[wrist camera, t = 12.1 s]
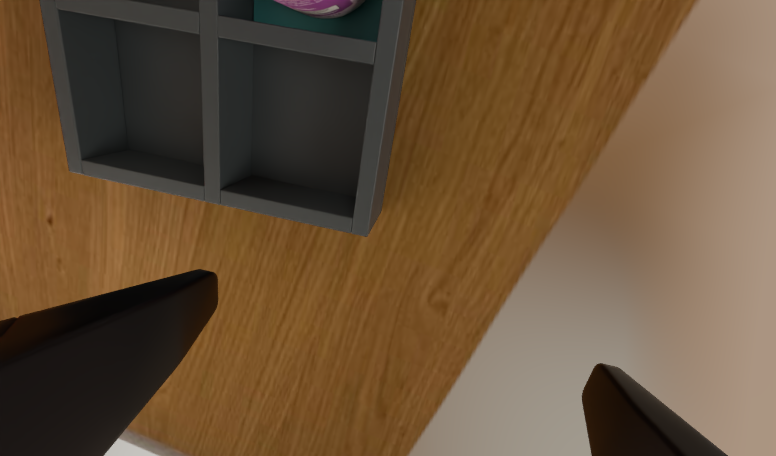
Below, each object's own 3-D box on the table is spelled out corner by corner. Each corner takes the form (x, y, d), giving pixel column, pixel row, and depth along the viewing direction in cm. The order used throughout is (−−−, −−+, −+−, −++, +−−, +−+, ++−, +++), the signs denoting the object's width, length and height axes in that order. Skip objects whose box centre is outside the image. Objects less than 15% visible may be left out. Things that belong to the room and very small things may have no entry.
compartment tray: (441, -152, 15) (437, -219, 11) (381, 212, 21) (367, 237, 17) (86, -194, 16) (-9, -265, 13) (126, 158, 22) (68, 172, 19)
